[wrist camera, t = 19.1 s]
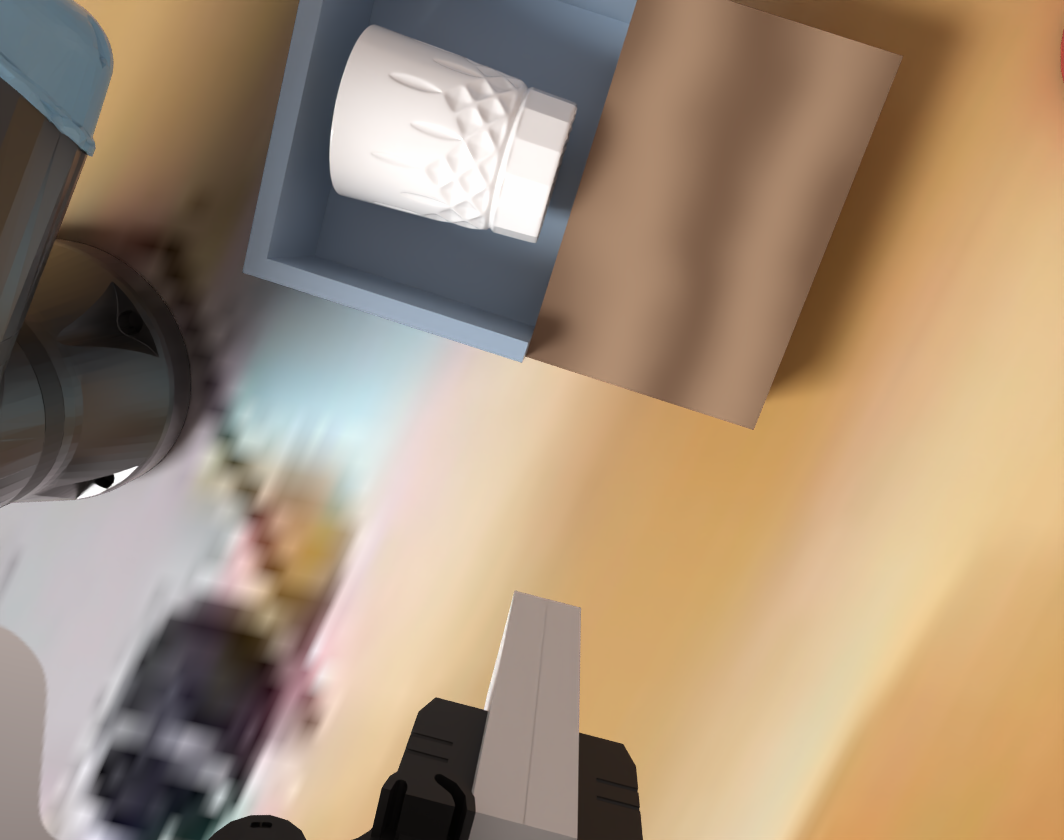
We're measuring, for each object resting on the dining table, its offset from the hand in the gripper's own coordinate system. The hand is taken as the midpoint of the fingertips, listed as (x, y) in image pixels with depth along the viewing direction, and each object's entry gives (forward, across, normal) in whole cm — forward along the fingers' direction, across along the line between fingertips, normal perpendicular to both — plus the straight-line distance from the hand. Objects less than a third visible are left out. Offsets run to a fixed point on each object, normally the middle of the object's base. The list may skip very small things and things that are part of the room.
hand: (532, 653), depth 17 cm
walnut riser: (+27, +4, +11) cm, 30 cm away
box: (+28, -9, +12) cm, 31 cm away
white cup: (+23, -3, +11) cm, 26 cm away
